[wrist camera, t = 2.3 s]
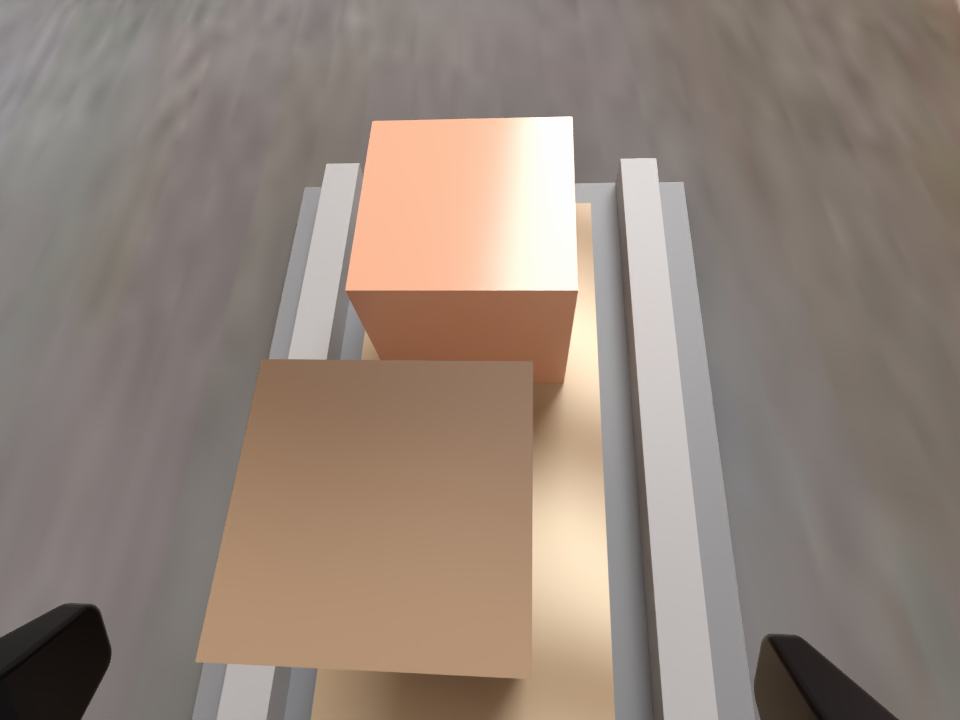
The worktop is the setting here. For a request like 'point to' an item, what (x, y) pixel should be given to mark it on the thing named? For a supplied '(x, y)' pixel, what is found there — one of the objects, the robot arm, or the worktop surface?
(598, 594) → the wooden sled with post
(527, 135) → the terracotta cube
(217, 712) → the guide board
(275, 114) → the worktop surface
